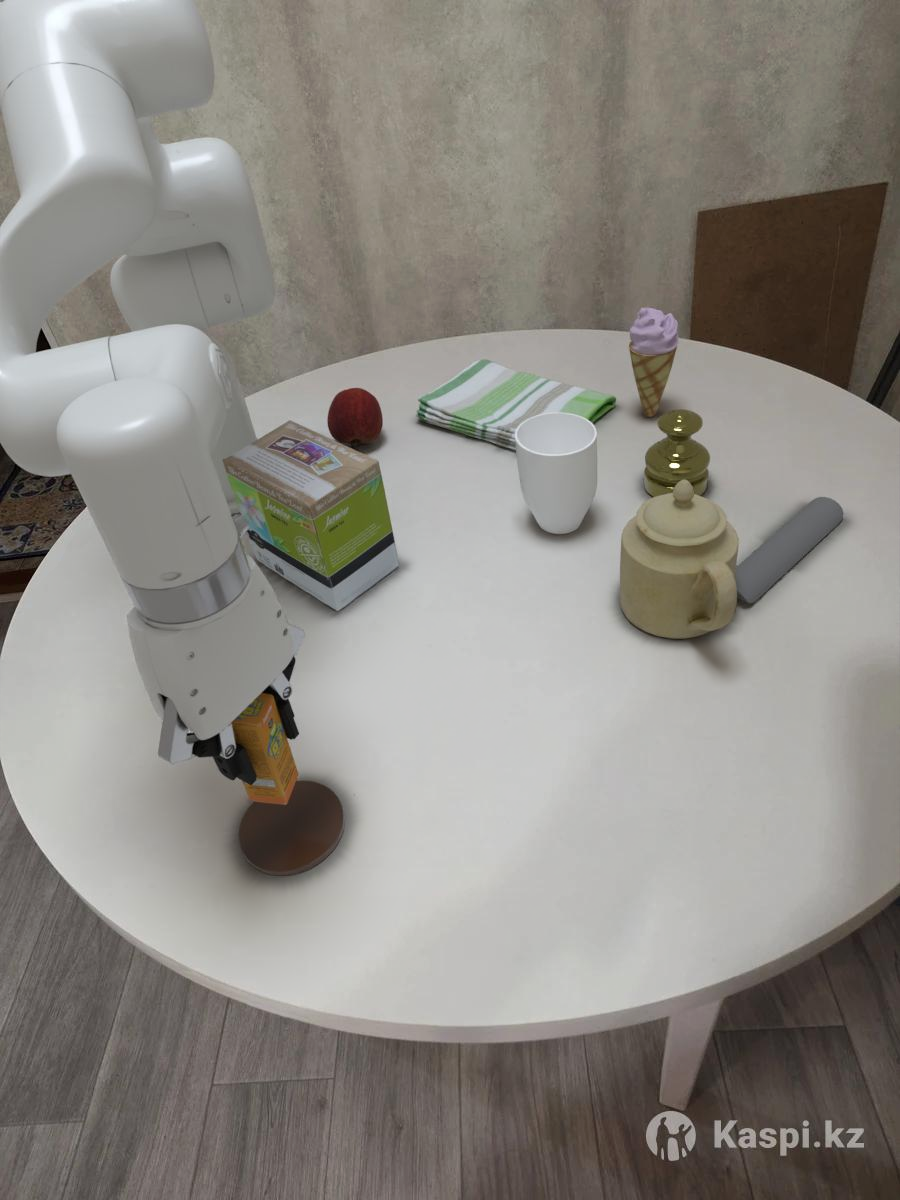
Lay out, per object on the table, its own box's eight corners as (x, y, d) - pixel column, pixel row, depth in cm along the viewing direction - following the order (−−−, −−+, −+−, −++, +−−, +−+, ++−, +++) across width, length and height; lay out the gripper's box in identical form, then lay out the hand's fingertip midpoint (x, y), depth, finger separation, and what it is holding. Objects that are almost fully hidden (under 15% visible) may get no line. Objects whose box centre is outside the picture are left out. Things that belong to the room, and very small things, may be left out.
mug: (583, 550, 97) (581, 459, 89) (509, 537, 100) (502, 448, 92) (614, 492, 104) (615, 403, 96) (544, 481, 108) (540, 394, 100)
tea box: (254, 564, 102) (217, 457, 92) (318, 521, 107) (290, 415, 97) (337, 615, 93) (307, 503, 83) (403, 566, 98) (382, 455, 88)
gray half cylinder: (845, 518, 96) (848, 505, 94) (747, 609, 86) (749, 596, 85) (809, 504, 98) (812, 491, 97) (710, 591, 89) (712, 578, 88)
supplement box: (290, 807, 68) (256, 726, 62) (250, 802, 69) (212, 722, 62) (303, 772, 71) (272, 691, 64) (264, 768, 71) (230, 688, 65)
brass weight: (637, 500, 102) (640, 426, 96) (650, 465, 107) (654, 393, 101) (701, 508, 100) (709, 433, 93) (711, 472, 105) (719, 398, 98)
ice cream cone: (621, 404, 119) (623, 298, 109) (666, 398, 119) (672, 291, 109) (633, 429, 114) (636, 320, 104) (679, 422, 114) (687, 313, 104)
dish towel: (484, 370, 131) (482, 348, 129) (618, 403, 119) (619, 380, 117) (413, 423, 122) (409, 400, 120) (551, 465, 110) (550, 441, 108)
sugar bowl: (785, 619, 85) (812, 494, 75) (714, 677, 81) (733, 552, 71) (666, 554, 94) (676, 435, 85) (596, 603, 90) (598, 483, 80)
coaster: (218, 845, 73) (216, 841, 73) (288, 769, 78) (286, 765, 78) (297, 894, 69) (296, 890, 68) (366, 810, 74) (364, 806, 74)
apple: (398, 434, 120) (388, 382, 115) (364, 463, 115) (353, 410, 110) (356, 424, 123) (345, 373, 118) (322, 451, 119) (309, 399, 114)
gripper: (236, 489, 61) (296, 666, 74) (43, 637, 52) (148, 813, 64) (316, 515, 58) (365, 697, 70) (125, 680, 48) (220, 858, 60)
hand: (261, 751), depth 67 cm, fingers closed on supplement box, 4 cm apart
